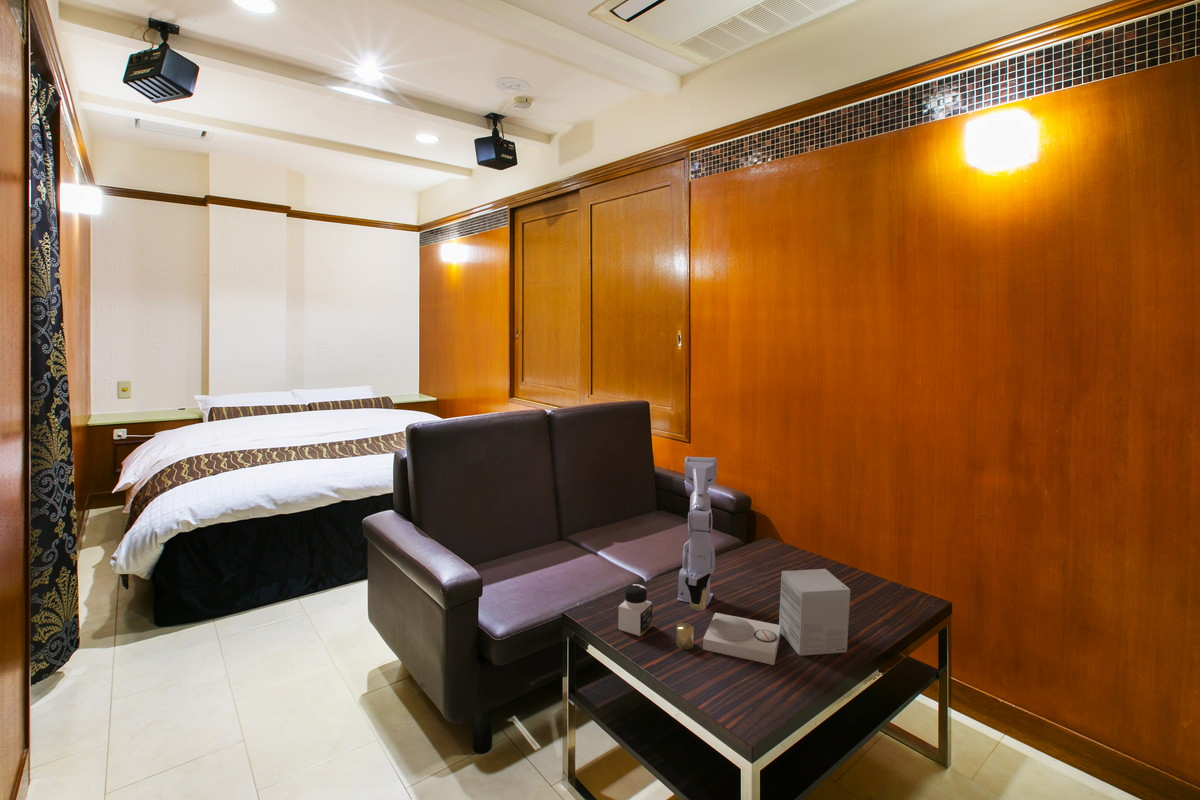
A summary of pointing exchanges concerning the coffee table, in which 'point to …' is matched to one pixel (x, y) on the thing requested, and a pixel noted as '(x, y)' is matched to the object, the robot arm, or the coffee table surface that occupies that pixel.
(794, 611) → the supplement box
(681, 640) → the cylinder
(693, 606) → the cylinder
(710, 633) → the scale
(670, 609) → the coffee table surface
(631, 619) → the medicine bottle
